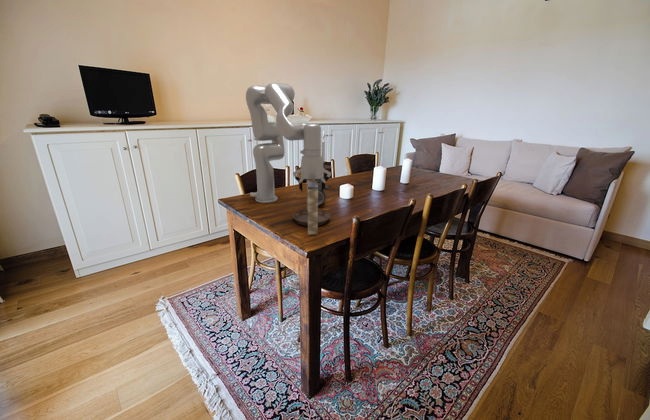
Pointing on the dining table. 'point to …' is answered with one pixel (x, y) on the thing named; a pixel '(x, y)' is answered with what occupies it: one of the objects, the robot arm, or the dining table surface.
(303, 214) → the plant saucer
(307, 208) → the post back
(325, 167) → the candlestick
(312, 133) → the robot arm
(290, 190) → the dining table surface
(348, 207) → the dining table surface
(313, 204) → the post front
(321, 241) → the dining table surface
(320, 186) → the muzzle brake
